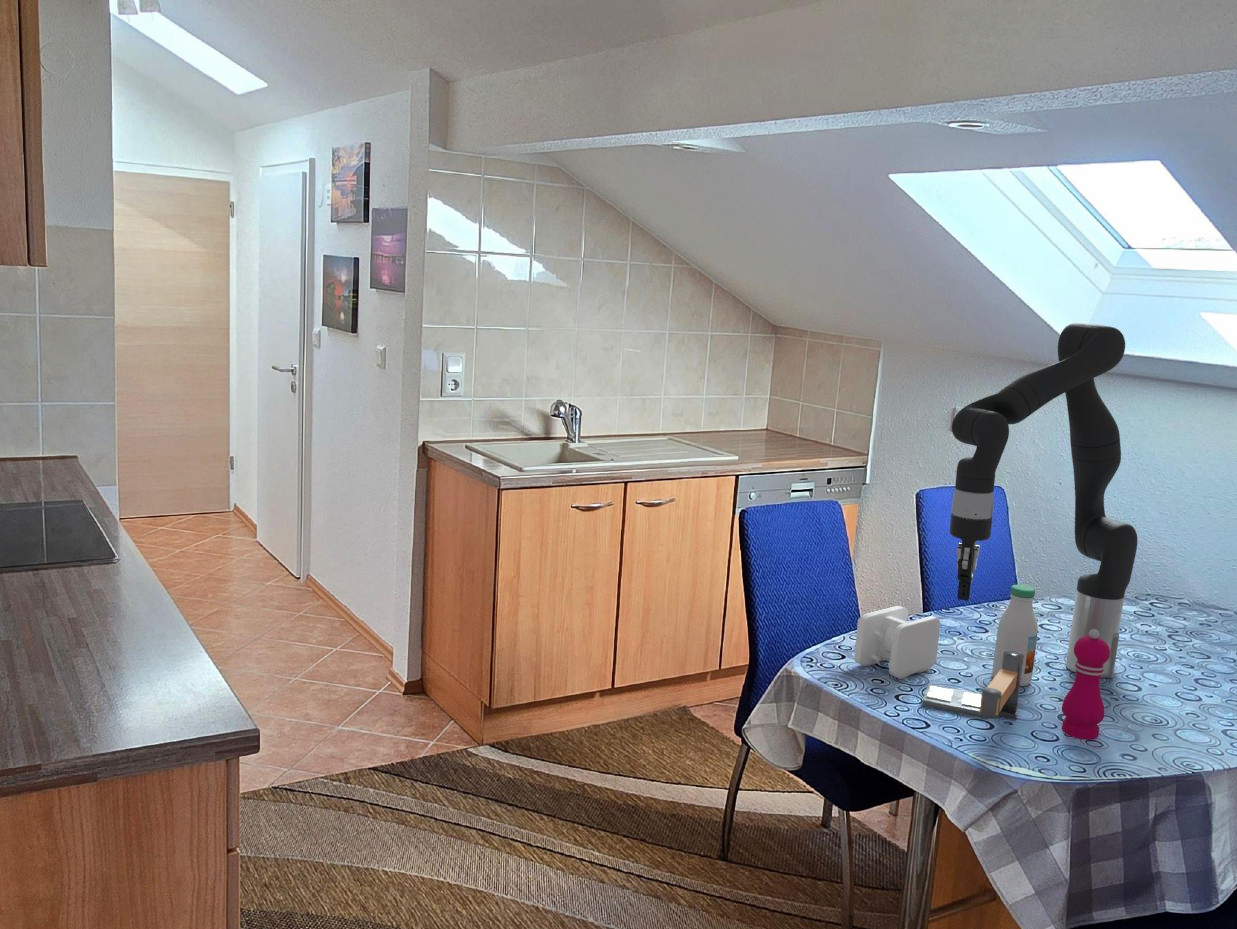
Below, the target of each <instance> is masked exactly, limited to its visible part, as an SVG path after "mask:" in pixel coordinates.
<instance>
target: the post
mask: <svg viewBox="0 0 1237 929" xmlns="http://www.w3.org/2000/svg"><path fill="white" fill-rule="evenodd" d="M1023 658H1024V655H1023V654H1022V653H1019V652H1016V651H1004V653H1003V661H1002V668H1001V669H1005V670H1009V671H1013V672H1017V681H1016V688H1015V689H1014V691H1013V692H1012V694H1011V695H1010V697H1009V698H1008V700H1007V701H1006V703H1005V704H1004V706H1003V707H1002V709H1001V710H1000V712H999V717H1001V718H1005V719H1010V720H1015V721H1017V716H1018V713H1019V712H1018V711H1019V707H1018V702H1019V695H1020V687H1021V686H1020V681H1021V673H1022V666H1023Z"/></svg>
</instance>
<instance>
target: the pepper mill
mask: <svg viewBox="0 0 1237 929" xmlns="http://www.w3.org/2000/svg"><path fill="white" fill-rule="evenodd" d="M1099 636H1100V633H1099V631H1098V630H1096V629H1092V630H1091V631H1090V632H1089V636H1086V637H1082V638H1080V639H1079V640H1078V641H1077V642H1076V643H1075V646H1074V654H1075V656H1076V658H1077V660H1076V661H1075V666H1074V668H1075V669H1076V672H1075V677H1074V682H1073V684H1072V686H1071V687H1070V689H1069V691H1068V692H1067V693H1066V695H1065V696H1064V699H1063V701H1062V703H1061V712H1062V714H1063V716H1065V718H1063V719H1062V723H1061V731H1062V732H1063V733H1064V734H1066V735H1067V736H1070V737H1072V738H1074V739H1078V740H1084V741H1093V740H1096V739H1097V738H1098V737H1099V734H1100V729H1101V728H1100V725H1099V724H1100V723H1102V721H1103V720H1104V719H1105V715H1106V714H1105V713H1106V709H1105V704H1104V700H1103V698H1102V694H1101V687H1100V686H1101V684H1100V682H1101V679H1102V678H1101V675H1102V674H1104V669H1105V666H1104V665H1103V664H1104V663H1106V662H1107V661H1108V659H1109V656H1110V649H1109V646H1108V645H1107V643H1106V642H1105V641H1103V640H1102V639H1100V638H1098V637H1099Z"/></svg>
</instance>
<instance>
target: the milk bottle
mask: <svg viewBox="0 0 1237 929" xmlns="http://www.w3.org/2000/svg"><path fill="white" fill-rule="evenodd" d="M1009 596H1010V602H1009V603H1008V605H1007V607H1006V608H1005V610H1004V611H1003V613H1002V615H1001V617H1000V619H999V621H998V622H999V623H998V626H997V634H996V637H995V638H996V640H995V645H994V646H995V648H994V655H993V663H992V668H991V669H992V673H991V675H992V679H994V677H995V676H996V675H997V673H998V672H999V671H1000V669H1001V668H1002V661H1003V653H1004V651H1016V652H1019V653H1022V654H1023V655H1024V658H1023V666H1022V673H1021V681H1020V687H1024V686H1028V685H1030V684H1031V682H1032V677H1033V672H1034V665H1035V656H1036V650H1037V649H1036V648H1037V640H1038V633H1039V632H1038V621H1037V618H1036V614H1035V611H1034V606H1033V605H1034V604H1033V601H1034V600H1035V596H1036V589H1035V588H1034V587H1032V586H1029V585H1024V584H1013V585H1011V587H1010V595H1009Z"/></svg>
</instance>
